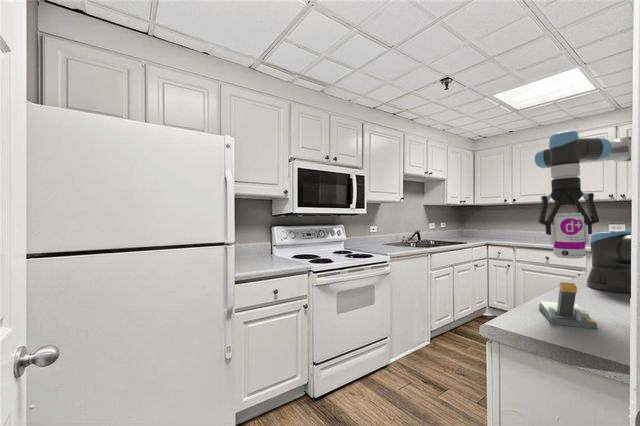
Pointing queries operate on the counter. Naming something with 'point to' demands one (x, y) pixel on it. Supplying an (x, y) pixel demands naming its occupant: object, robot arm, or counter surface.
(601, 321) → the counter surface
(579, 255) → the supplement can
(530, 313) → the counter surface
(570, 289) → the breaker lever
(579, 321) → the panel
